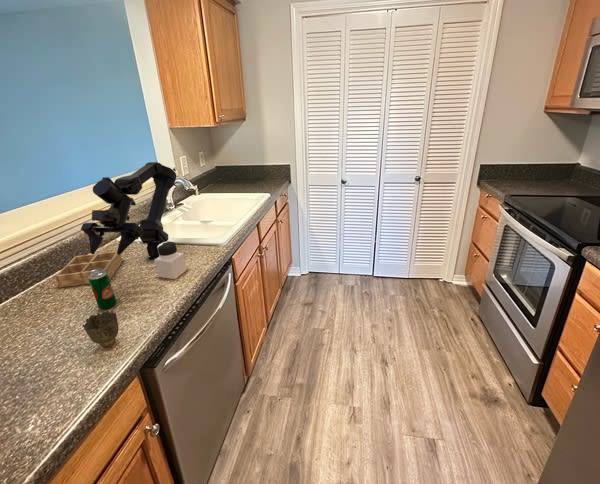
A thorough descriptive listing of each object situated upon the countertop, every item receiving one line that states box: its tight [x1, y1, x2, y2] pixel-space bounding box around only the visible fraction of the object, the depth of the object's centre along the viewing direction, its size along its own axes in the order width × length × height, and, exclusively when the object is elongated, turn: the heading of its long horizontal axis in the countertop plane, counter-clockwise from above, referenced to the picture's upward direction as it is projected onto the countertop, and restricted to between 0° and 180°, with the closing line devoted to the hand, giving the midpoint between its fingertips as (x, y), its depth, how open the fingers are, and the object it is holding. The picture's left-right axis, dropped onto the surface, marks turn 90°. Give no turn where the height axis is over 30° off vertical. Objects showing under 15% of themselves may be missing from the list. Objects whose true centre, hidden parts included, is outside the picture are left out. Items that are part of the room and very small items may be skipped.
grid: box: [54, 250, 123, 288], centre depth 120 cm, size 16×16×4 cm
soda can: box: [88, 269, 118, 311], centre depth 98 cm, size 5×5×12 cm
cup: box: [82, 309, 119, 348], centre depth 83 cm, size 8×7×8 cm
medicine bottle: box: [154, 240, 188, 280], centre depth 115 cm, size 7×7×12 cm
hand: (105, 254), depth 102 cm, fingers open, 9 cm apart
